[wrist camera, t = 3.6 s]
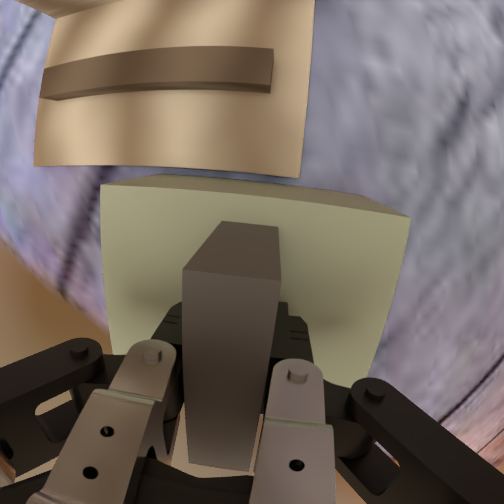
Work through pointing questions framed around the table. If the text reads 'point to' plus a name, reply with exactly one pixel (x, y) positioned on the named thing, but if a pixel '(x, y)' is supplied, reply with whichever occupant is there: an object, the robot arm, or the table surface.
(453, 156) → the table surface
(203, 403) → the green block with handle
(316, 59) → the table surface
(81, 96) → the wooden stand
